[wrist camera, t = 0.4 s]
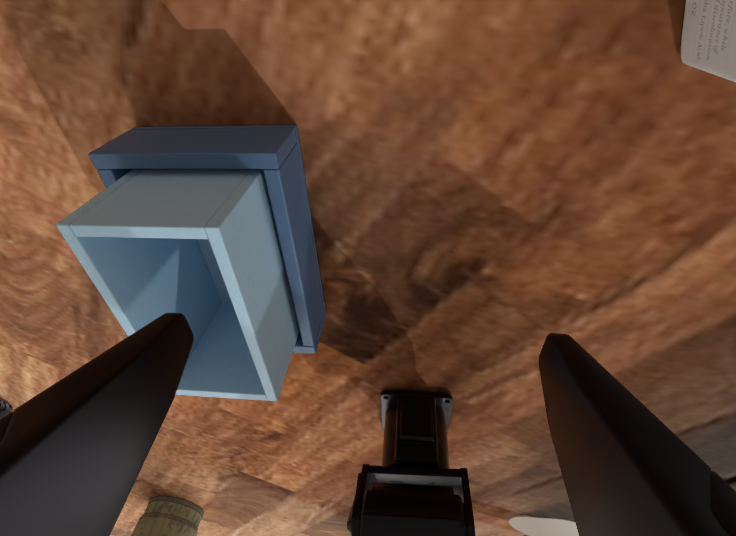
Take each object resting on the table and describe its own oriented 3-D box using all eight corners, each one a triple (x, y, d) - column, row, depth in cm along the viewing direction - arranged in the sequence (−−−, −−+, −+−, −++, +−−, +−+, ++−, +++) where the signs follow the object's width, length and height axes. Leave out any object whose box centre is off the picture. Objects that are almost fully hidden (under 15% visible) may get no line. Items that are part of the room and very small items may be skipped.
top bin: (307, 306, 28) (277, 401, 22) (218, 302, 29) (165, 394, 23) (277, 149, 21) (218, 227, 15) (158, 150, 22) (54, 224, 15)
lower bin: (326, 313, 29) (315, 354, 26) (211, 308, 30) (187, 347, 27) (296, 124, 20) (275, 152, 17) (134, 126, 21) (87, 153, 18)
